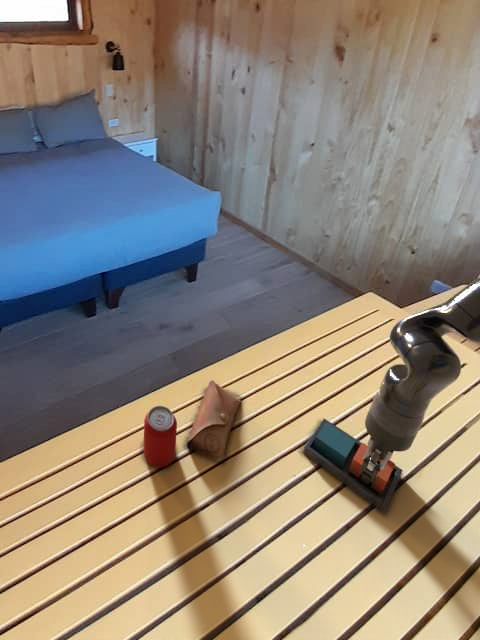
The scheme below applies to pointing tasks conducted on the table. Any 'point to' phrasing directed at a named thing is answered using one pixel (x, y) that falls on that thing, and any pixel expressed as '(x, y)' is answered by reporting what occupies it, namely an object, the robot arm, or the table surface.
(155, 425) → the beverage can
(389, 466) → the loose pad
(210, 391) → the sunglasses case
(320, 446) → the pad
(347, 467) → the frame
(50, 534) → the table surface
